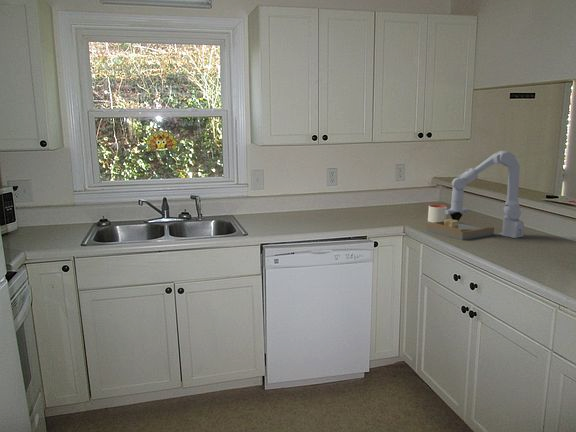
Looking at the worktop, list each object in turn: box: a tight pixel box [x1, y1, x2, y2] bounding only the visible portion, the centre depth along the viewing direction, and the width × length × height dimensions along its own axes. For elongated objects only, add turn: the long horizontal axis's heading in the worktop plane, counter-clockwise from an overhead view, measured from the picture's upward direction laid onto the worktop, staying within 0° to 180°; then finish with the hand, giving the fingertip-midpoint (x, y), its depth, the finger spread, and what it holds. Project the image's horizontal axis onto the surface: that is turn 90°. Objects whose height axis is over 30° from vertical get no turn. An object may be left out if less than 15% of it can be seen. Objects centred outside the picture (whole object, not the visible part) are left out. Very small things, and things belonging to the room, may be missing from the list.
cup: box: [427, 204, 448, 223], centre depth 278 cm, size 10×10×10 cm
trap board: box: [425, 221, 495, 241], centre depth 255 cm, size 24×24×5 cm
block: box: [444, 218, 459, 228], centre depth 251 cm, size 5×5×5 cm
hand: (455, 226), depth 253 cm, fingers closed, pressing on block
